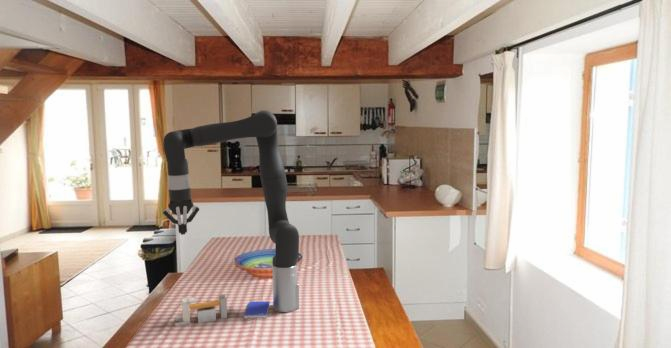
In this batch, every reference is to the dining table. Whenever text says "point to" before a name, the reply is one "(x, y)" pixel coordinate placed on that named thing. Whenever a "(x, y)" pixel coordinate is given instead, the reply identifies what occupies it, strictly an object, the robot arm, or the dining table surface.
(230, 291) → the dining table surface
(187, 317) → the block
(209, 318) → the heatsink
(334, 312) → the dining table surface
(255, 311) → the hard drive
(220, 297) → the board
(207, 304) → the orange bar
